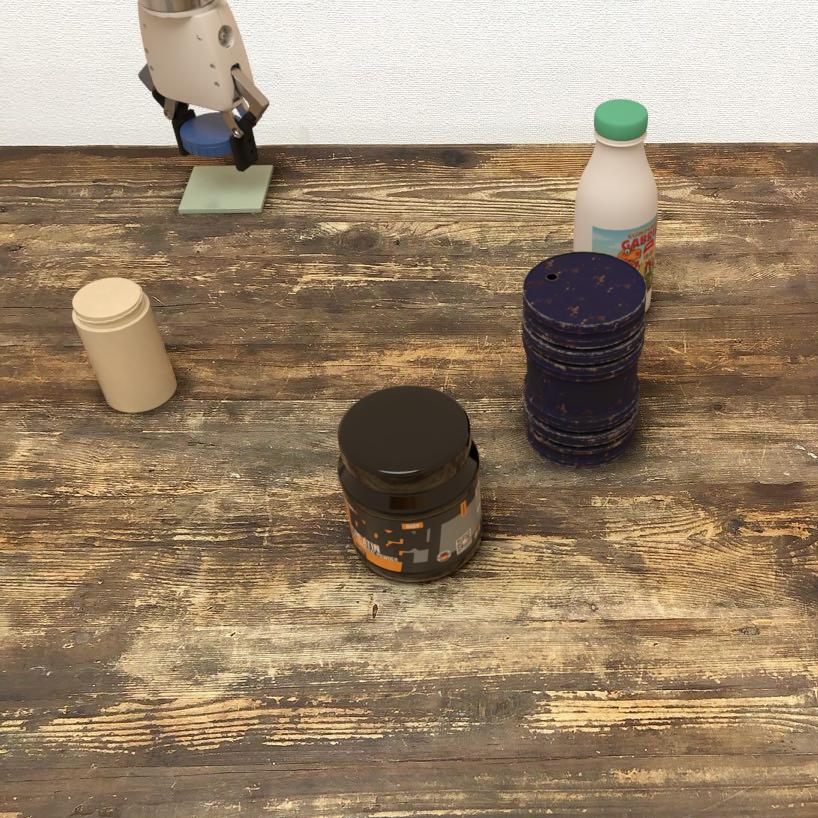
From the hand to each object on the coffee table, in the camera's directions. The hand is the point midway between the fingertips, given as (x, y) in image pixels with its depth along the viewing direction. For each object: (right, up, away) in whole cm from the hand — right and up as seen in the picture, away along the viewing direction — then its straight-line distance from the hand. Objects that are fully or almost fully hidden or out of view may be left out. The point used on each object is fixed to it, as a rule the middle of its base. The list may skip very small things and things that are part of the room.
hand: (219, 156), depth 117 cm
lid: (0, +2, -2) cm, 3 cm away
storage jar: (+38, -32, -23) cm, 55 cm away
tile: (0, -3, +3) cm, 4 cm away
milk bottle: (+42, -19, -11) cm, 47 cm away
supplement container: (+25, -42, -31) cm, 58 cm away
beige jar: (-2, -28, -19) cm, 34 cm away
